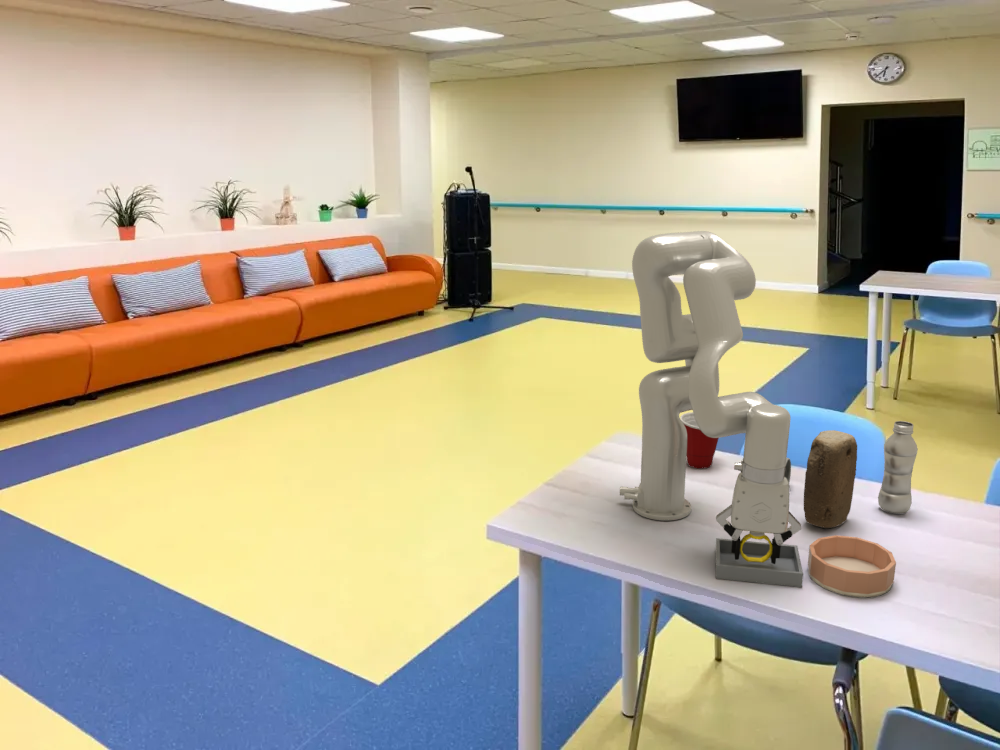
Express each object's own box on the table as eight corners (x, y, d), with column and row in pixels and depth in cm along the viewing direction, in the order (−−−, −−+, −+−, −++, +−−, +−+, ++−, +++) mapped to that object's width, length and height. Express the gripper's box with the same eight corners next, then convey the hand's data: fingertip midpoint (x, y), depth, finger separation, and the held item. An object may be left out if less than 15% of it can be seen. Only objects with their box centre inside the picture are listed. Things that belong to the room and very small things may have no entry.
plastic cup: (709, 476, 208) (712, 429, 204) (669, 465, 215) (671, 419, 211) (730, 463, 215) (733, 417, 212) (691, 453, 222) (694, 408, 219)
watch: (740, 564, 164) (740, 536, 163) (738, 557, 167) (738, 529, 165) (773, 564, 163) (773, 536, 162) (770, 557, 166) (771, 529, 164)
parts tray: (715, 578, 161) (716, 565, 161) (715, 550, 172) (716, 538, 171) (801, 587, 158) (803, 573, 157) (796, 558, 168) (797, 545, 168)
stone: (828, 537, 177) (837, 445, 171) (795, 526, 182) (804, 436, 176) (854, 519, 185) (864, 430, 179) (822, 509, 189) (831, 422, 184)
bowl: (812, 592, 156) (815, 568, 155) (804, 555, 170) (806, 532, 168) (899, 601, 153) (902, 576, 152) (883, 562, 166) (886, 539, 165)
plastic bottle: (902, 520, 184) (913, 431, 178) (870, 510, 189) (881, 423, 183) (915, 511, 188) (927, 424, 182) (884, 502, 193) (895, 416, 187)
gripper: (715, 474, 158) (708, 563, 163) (815, 484, 154) (804, 573, 160) (715, 459, 165) (708, 544, 170) (810, 467, 161) (800, 554, 167)
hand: (754, 557), depth 165 cm, fingers closed on watch, 6 cm apart
